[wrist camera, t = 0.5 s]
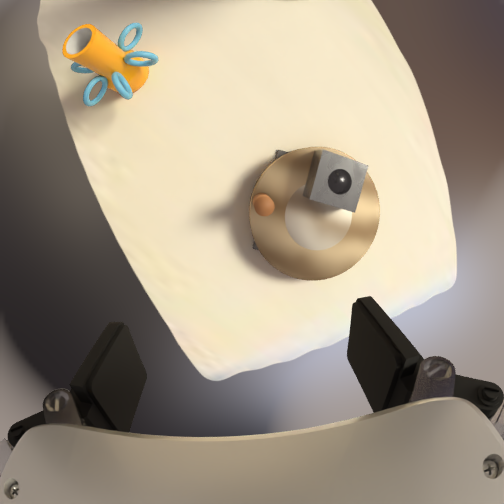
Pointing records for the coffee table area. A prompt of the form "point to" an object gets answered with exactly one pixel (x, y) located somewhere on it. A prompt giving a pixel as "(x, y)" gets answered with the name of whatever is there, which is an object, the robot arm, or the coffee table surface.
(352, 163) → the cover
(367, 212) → the turntable
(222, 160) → the coffee table surface
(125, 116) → the coffee table surface
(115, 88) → the cylinder
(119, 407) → the robot arm
